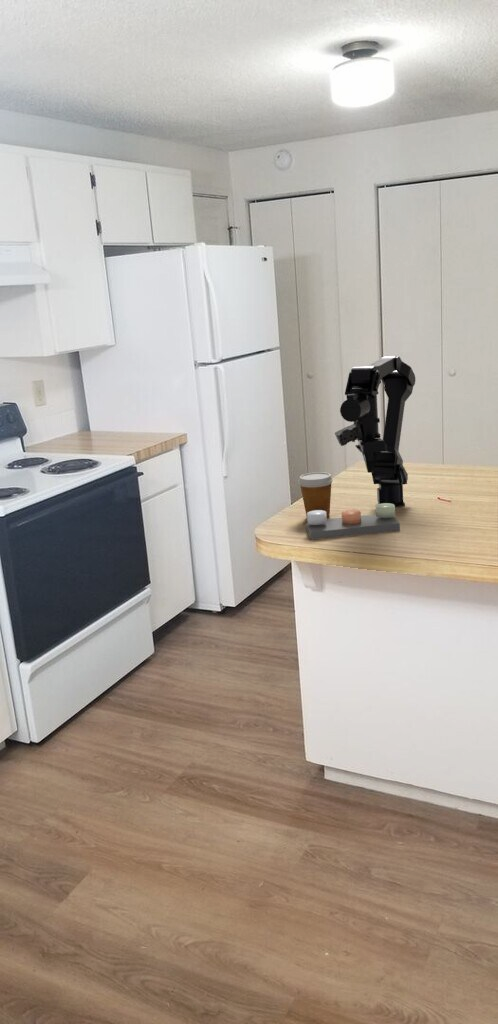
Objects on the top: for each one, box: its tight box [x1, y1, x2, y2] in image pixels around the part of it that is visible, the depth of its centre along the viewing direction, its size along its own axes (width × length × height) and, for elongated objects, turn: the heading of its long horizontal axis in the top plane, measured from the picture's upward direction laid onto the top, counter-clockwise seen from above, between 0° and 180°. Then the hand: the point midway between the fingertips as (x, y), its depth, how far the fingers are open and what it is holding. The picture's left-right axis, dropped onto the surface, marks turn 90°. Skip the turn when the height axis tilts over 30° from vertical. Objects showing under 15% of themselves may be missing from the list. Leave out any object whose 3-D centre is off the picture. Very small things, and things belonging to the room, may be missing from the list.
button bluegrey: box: [306, 510, 327, 525], centre depth 215 cm, size 5×5×2 cm
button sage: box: [374, 503, 396, 518], centre depth 215 cm, size 5×5×2 cm
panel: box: [305, 513, 401, 541], centre depth 216 cm, size 23×10×2 cm, turn 93°
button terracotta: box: [341, 509, 362, 525], centre depth 215 cm, size 5×5×2 cm
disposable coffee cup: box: [297, 471, 334, 519], centre depth 228 cm, size 10×10×12 cm
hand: (369, 472), depth 221 cm, fingers closed
